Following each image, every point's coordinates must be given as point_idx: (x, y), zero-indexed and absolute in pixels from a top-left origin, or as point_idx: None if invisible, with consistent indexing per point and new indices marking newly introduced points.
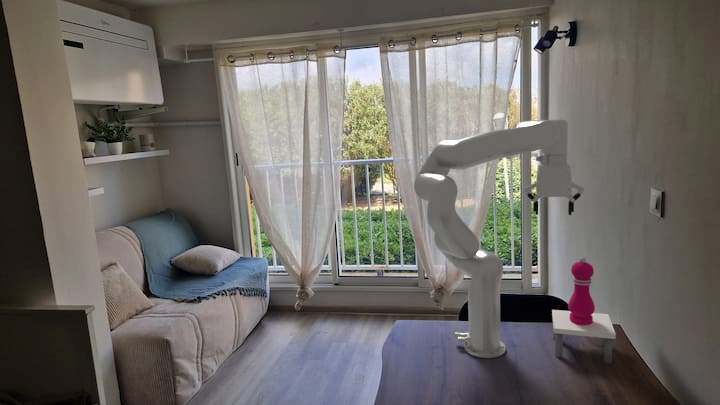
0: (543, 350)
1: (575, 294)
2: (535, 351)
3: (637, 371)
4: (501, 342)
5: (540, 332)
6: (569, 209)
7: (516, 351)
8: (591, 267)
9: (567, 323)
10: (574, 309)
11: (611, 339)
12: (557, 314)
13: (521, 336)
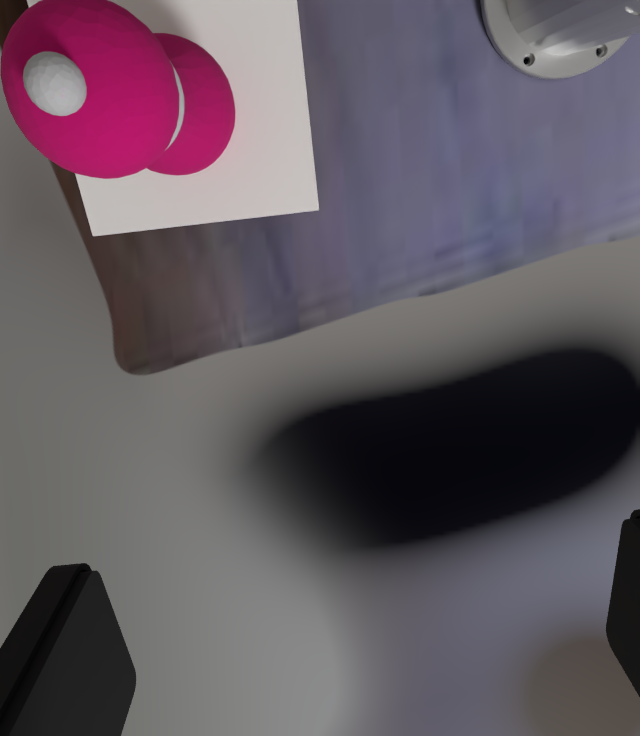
0: (337, 63)
1: (178, 67)
2: (365, 41)
3: (10, 7)
4: (501, 37)
5: (358, 225)
6: (41, 654)
7: (436, 11)
8: (2, 59)
9: (239, 56)
10: (195, 43)
11: None
12: (292, 157)
13: (424, 163)
